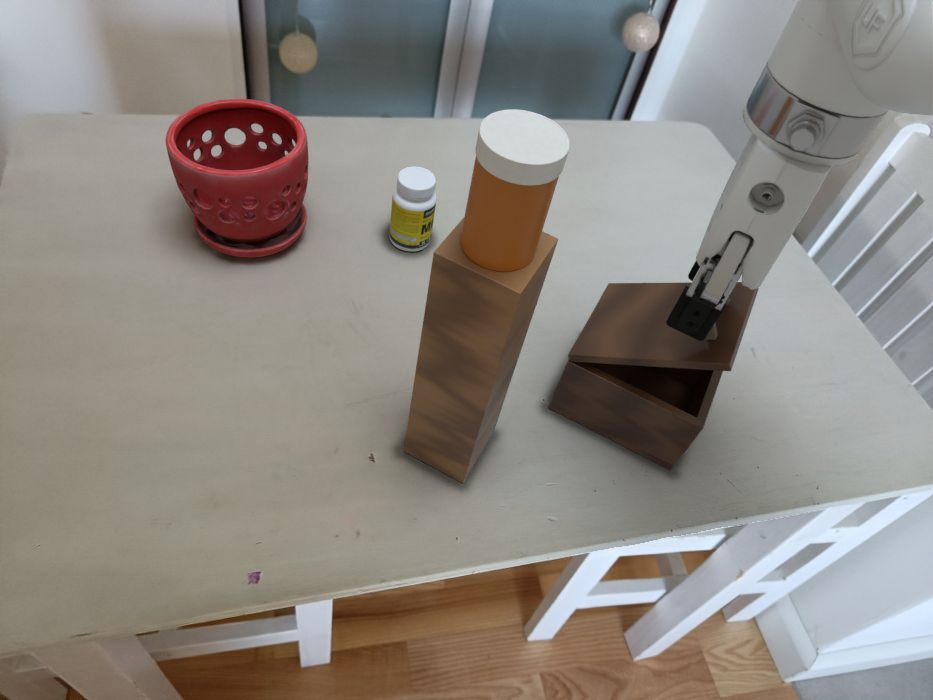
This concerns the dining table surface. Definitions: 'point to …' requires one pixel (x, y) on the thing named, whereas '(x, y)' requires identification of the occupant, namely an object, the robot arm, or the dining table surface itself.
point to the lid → (659, 329)
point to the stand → (469, 352)
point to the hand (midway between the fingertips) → (695, 305)
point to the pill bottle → (512, 187)
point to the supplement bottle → (413, 209)
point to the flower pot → (242, 176)
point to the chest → (638, 405)
